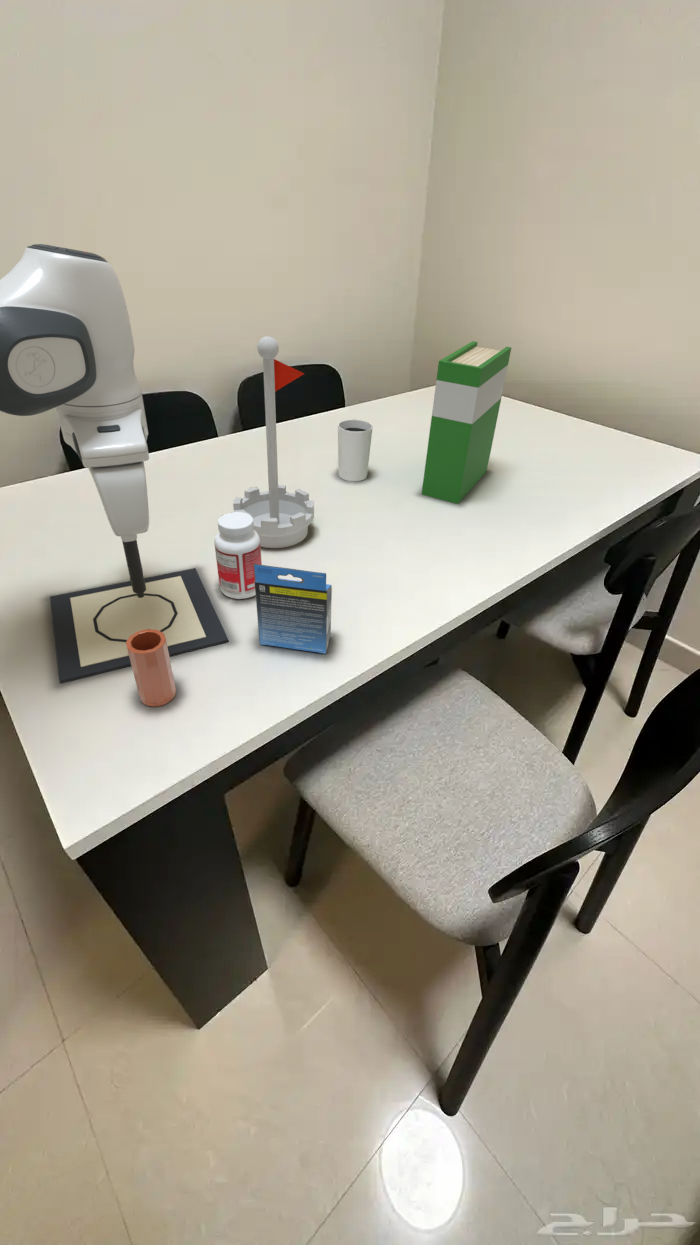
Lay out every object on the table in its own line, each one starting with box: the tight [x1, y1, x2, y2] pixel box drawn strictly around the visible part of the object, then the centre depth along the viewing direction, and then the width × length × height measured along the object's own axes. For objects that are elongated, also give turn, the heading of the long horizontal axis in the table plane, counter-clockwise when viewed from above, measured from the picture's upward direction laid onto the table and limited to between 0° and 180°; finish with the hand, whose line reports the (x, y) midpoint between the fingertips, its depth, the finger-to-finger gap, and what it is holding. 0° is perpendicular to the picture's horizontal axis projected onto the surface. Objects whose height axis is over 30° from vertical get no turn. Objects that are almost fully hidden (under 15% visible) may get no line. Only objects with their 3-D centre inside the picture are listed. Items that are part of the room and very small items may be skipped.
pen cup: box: [126, 629, 177, 708], centre depth 64 cm, size 4×4×8 cm
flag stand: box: [232, 335, 315, 549], centre depth 88 cm, size 13×13×30 cm
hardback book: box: [421, 340, 512, 505], centre depth 108 cm, size 18×7×24 cm, turn 152°
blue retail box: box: [253, 564, 333, 654], centre depth 71 cm, size 9×4×12 cm, turn 81°
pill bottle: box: [213, 511, 263, 600], centre depth 81 cm, size 6×6×11 cm
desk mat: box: [49, 567, 229, 684], centre depth 77 cm, size 20×18×1 cm
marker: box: [121, 538, 146, 598], centre depth 73 cm, size 2×2×14 cm
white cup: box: [337, 419, 374, 482], centre depth 113 cm, size 7×7×10 cm
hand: (127, 533), depth 72 cm, fingers closed on marker, 2 cm apart
